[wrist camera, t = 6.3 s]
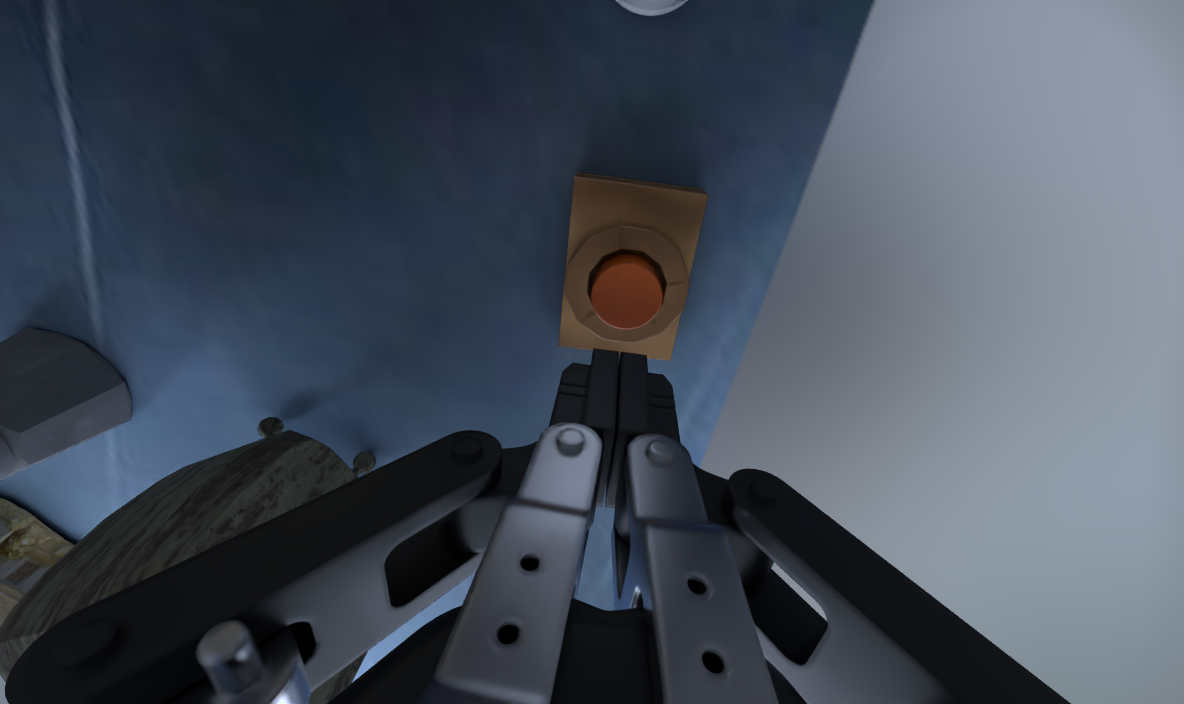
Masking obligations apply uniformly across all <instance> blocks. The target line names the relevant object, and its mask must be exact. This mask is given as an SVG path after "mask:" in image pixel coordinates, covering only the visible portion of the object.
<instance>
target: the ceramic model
mask: <svg viewBox="0 0 1184 704" xmlns="http://www.w3.org/2000/svg"><path fill="white" fill-rule="evenodd" d="M74 546H75V545H74V544H72V543H70V542H68V541H66V540H65V539H64V538H62V537H60V535H58V534H57V533H55V532H54V531H52V530H51V529H50V528H48V527H47V526H46V525H44V524H43V523H42V522H41V521H39V520H37V519H36V518H35V517H34V516H33V515H32V514H30V513H29V512H27V511H26V510H24V509H22V508H20V507H18V506H16V505H14V504H13V503H11V502H9V501H7V500H5V499H1V498H0V627H1V625H2V624H3V622H4V620H5V619H6V617H7V616H8V614H9V613H10V611H11V610H12V609H13V607H14V606H15V605H16V604H17V603H18V602H19V601H20V599H21V598H22V597H23V596H24V595H25V594H26V593H27V592H28V590H29V589H30V588H31V587H32V586H33V585H34V584H35V583H36V582H37V581H38V580H39V579H40V578H41V577H42V575H43V574H44V573H45V572H46V571H47V570H49V569H50V568H51V567H52V566H53V565H54V564H55V563H56V562H57V561H59V560H60V559H61V558H62V557H63V556H64V555H65V554H66V553H67V552H68V551H70V550H71V549H72V548H73V547H74Z"/></svg>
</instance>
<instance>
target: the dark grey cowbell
mask: <svg viewBox="0 0 1184 704" xmlns="http://www.w3.org/2000/svg"><path fill="white" fill-rule="evenodd" d="M283 429H284V425H283V423H282V421H281V420H280V419H278V418H276V417H268V418H266V419H264V420H262V421H260V423H259V426H258V428H257V430H258V432H259V435H260V436H262V437H264V439H261V440H258V441H256V442H253V443H250V444H247V445H244V446H241V447H239V448H236V449H233V450H230V451H227V452H225V453H222V454H219V455H216V456H213V457H210V458H208V459H205V460H202V461H199V462H196V463H193V464H191V465H188V466H185V467H183V468H181V469H179V470H178V471H176V472H174V473H172V474H170V475H168V476H167V477H165V478H163V479H161V480H160V481H158V482H156V483H155V484H154V485H152V486H151V487H149V488H148V489H146V490H145V491H144V492H142V493H141V494H139V495H138V496H136V497H135V498H134V499H132V500H131V501H129V502H128V503H126V504H125V505H124V506H122V507H121V508H119V509H118V510H117V511H115V512H114V513H112V514H111V515H109V516H108V517H107V518H105V519H104V520H103V521H102V522H100V523H99V524H98V525H97V526H96V527H95V528H94V529H93V530H92V531H91V532H89V533H88V534H87V535H86V536H85V537H84V538H83V539H82V540H81V541H79V542H78V543H77V544H76V545H75V546H74V547H73V548H72V549H71V550H70V551H68V552H67V553H66V554H65V555H64V556H63V557H62V558H61V559H60V560H59V561H57V562H56V563H55V564H54V565H53V566H52V567H51V568H50V569H49V570H47V571H46V572H45V573H44V574H43V575H42V577H41V578H40V579H39V580H38V581H37V582H36V583H35V584H34V585H33V586H32V587H31V588H30V589H29V590H28V592H27V593H26V594H25V595H24V596H23V597H22V598H21V599H20V601H19V602H18V603H17V604H16V605H15V606H14V607H13V609H12V610H11V611H10V613H9V614H8V616H7V617H6V619H5V620H4V622H3V624H2V625H1V627H0V676H1V677H2V678H3V679H4V681H5V682H6V681H7V678H8V676H9V673H10V671H11V669H12V668H13V666H14V665H15V663H16V661H17V660H18V659H19V657H20V656H21V655H22V654H23V653H24V651H25V650H26V649H27V648H28V647H29V646H30V645H31V644H32V643H33V642H34V641H35V640H36V639H38V638H39V637H40V636H41V635H42V634H43V633H45V632H46V631H47V630H49V629H50V628H51V627H53V626H54V625H56V624H57V623H58V622H60V621H62V620H63V619H65V618H66V617H68V616H70V615H71V614H73V613H75V612H77V611H79V610H81V609H83V608H85V607H87V606H89V605H91V604H94V603H96V602H98V601H100V600H102V599H104V598H106V597H108V596H110V595H113V594H115V593H117V592H119V591H121V590H123V589H125V588H127V587H129V586H132V585H134V584H136V583H138V582H140V581H142V580H144V579H146V578H148V577H151V576H153V575H155V574H157V573H159V572H161V571H163V570H165V569H167V568H170V567H172V566H174V565H176V564H178V563H180V562H182V561H184V560H186V559H188V558H191V557H193V556H195V555H197V554H199V553H201V552H203V551H205V550H207V549H210V548H212V547H214V546H216V545H218V544H220V543H222V542H224V541H226V540H229V539H231V538H233V537H235V536H237V535H239V534H241V533H243V532H245V531H248V530H250V529H252V528H254V527H256V526H258V525H260V524H262V523H264V522H267V521H269V520H271V519H273V518H275V517H277V516H279V515H281V514H283V513H285V512H288V511H290V510H292V509H294V508H296V507H298V506H300V505H302V504H304V503H307V502H309V501H311V500H313V499H315V498H317V497H319V496H321V495H323V494H326V493H328V492H330V491H332V490H334V489H336V488H338V487H340V486H342V485H345V484H347V483H349V482H351V481H353V480H355V479H357V478H358V477H357V475H358V474H359V473H368V472H370V471H371V470H372V469H373V468H374V466H375V464H376V458H375V456H374V455H373V454H372V453H370V452H361V453H359V454H358V455H357V456H356V457H355V459H354V461H353V467H354V469H353V470H351V469H350V468H349V467H348V466H347V465H346V464H345V462H344V461H343V460H342V459H341V458H340V457H339V456H338V455H337V454H336V453H335V452H334V451H333V450H332V449H330V448H329V447H328V446H326V445H325V444H323V443H321V442H319V441H317V440H315V439H313V438H310V437H308V436H305V435H302V434H300V433H297V432H294V431H292V430H288V431H285V432H282V431H283ZM367 652H368V651H367ZM367 652H365V653H364V654H363V655H361V656H360V657H358V658H357V659H356V660H354V661H353V662H352V663H350V664H349V665H348V666H346V667H345V668H344V669H342V670H341V671H339V672H338V673H337V674H335V675H334V676H333V677H331V678H330V679H329V680H327V681H326V682H324V683H323V684H322V685H320V686H319V687H318V688H316V689H315V690H314V691H312V692H311V693H310V699H309V704H327V703H328V702H329V701H330V700H332V699H333V698H334V697H335V696H337V695H338V694H339V693H340V692H342V691H343V690H344V689H345V688H346V687H348V686H349V685H350V684H351V683H352V681H353V679H354V677H355V675H356V673H357V671H358V669H359V667H360V665H361V663H362V662H363V660H364V658H365V656H366V654H367Z"/></svg>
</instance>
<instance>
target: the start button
mask: <svg viewBox="0 0 1184 704" xmlns="http://www.w3.org/2000/svg"><path fill="white" fill-rule="evenodd" d="M591 300H592V305H593V308H594V310H595V312H596V314H597V315H598V316H599V317H600V319H601V320H603V321H604V322H605V323H607V324H608V325H610V326H612V327H615V328H619V329H634V328H638V327H641V326H643V325H645V324H647V323H648V322H649V321H651V320H652V319H653V318H654V317H655V315H656V314H657V312H658V311H659V309H660V306H661V303H662V288H661V283H660V278H659V274H658V272H657V270H656V269H655V267H654V266H653V265H652V264H651V263H650V262H649V261H648V260H646V259H645V258H643V257H641V256H638V255H635V254H620V255H616V256H613V257H611V258H609V259H608V260H606V261H605V262H604V263H603V264H602V265H601V266H600V267H599V269H598V270H597V272H596V274H595V277H594V282H593V287H592V292H591Z"/></svg>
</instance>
